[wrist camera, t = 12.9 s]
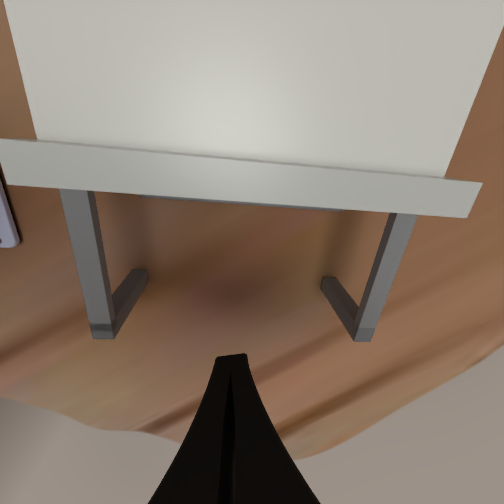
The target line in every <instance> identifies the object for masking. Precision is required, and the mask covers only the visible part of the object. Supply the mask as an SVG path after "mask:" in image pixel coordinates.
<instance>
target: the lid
mask: <svg viewBox="0 0 504 504" xmlns="http://www.w3.org/2000/svg"><path fill="white" fill-rule="evenodd" d="M4 4H5V8H6V13H7V17H8V21H9V25H10V29H11V33H12V37H13V41H14V45H15V50H16V54H17V58H18V62H19V66H20V70H21V74H22V78H23V83H24V87H25V91H26V95H27V99H28V103H29V107H30V111H31V116H32V120H33V124H34V128H35V132H36V136H37V139H8V138H0V163H1V166H2V169H3V173H4V176H5V179H6V182H7V185H20V186H34V187H47V188H61V189H75V190H89V191H102V192H116V193H130V194H143V195H157V196H171V197H184V198H198V199H212V200H226V201H239V202H253V203H267V204H280V205H294V206H308V207H321V208H335V209H349V210H363V211H376V212H390V213H404V214H417V215H431V216H445V217H459V218H467V216H468V214H469V212H470V210H471V208H472V205H473V203H474V201H475V199H476V197H477V195H478V192H479V190H480V188H481V186H482V184H483V183H480V182H473V181H466V180H460V179H453V178H446V177H444V175H445V173H446V170H447V168H448V165H449V163H450V160H451V158H452V155H453V152H454V150H455V147H456V145H457V142H458V140H459V137H460V135H461V132H462V130H463V127H464V125H465V122H466V119H467V117H468V114H469V112H470V109H471V107H472V104H473V102H474V99H475V97H476V94H477V92H478V89H479V86H480V84H481V81H482V79H483V76H484V74H485V71H486V69H487V66H488V64H489V61H490V58H491V56H492V53H493V51H494V48H495V46H496V43H497V41H498V38H499V36H500V33H501V31H502V28H503V25H504V0H4Z"/></svg>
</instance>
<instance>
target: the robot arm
mask: <svg viewBox="0 0 504 504" xmlns="http://www.w3.org/2000/svg"><path fill="white" fill-rule="evenodd" d="M0 239H1V240H2V241H0V247H1V248H12V247H14V246H16V245H18V244H19V242H20V241H19V236H18V233H17V230H16V227H15V224H14V221H13V218H12V214H11V211H10V208H9V205H8V202H7V199H6V196H5V192H4V189H3V186H2V183H1V180H0ZM148 504H320V502H319V501H318V499H317V498H316V496H315V495H314V493H313V492H312V490H311V489H310V487H309V486H308V484H307V483H306V481H305V479H304V478H303V476H302V475H301V473H300V471H299V470H298V469H297V467H296V465H295V463H294V462H293V460H292V459H291V457H290V455H289V453H288V452H287V450H286V448H285V446H284V445H283V443H282V441H281V439H280V437H279V436H278V434H277V432H276V430H275V428H274V426H273V424H272V422H271V420H270V418H269V416H268V414H267V412H266V410H265V408H264V405H263V403H262V401H261V398H260V396H259V394H258V391H257V389H256V386H255V383H254V381H253V378H252V375H251V371H250V368H249V364H248V358H247V354H245V353H242V354H235V355H227V356H220V357H217V358H216V359H215V364H214V367H213V371H212V374H211V377H210V380H209V383H208V386H207V388H206V391H205V394H204V396H203V399H202V401H201V404H200V406H199V409H198V411H197V413H196V415H195V418H194V420H193V422H192V424H191V426H190V429H189V431H188V433H187V435H186V437H185V439H184V441H183V443H182V445H181V447H180V449H179V451H178V453H177V455H176V456H175V458H174V460H173V462H172V464H171V465H170V467H169V469H168V471H167V472H166V474H165V476H164V478H163V479H162V481H161V483H160V485H159V486H158V488H157V490H156V491H155V493H154V495H153V496H152V498H151V500H150V501H149V502H148Z"/></svg>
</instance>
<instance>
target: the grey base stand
mask: <svg viewBox="0 0 504 504" xmlns="http://www.w3.org/2000/svg"><path fill="white" fill-rule="evenodd" d="M59 191H60V196H61V200H62V205H63V209H64V213H65V218H66V222H67V227H68V231H69V235H70V240H71V244H72V249H73V253H74V257H75V262H76V266H77V271H78V275H79V280H80V284H81V288H82V293H83V297H84V302H85V306H86V310H87V315H88V319H89V324H90V328H91V332H92V337H93V339H114V338H115V336H116V335H117V333H118V332H119V330H120V328H121V327H122V325H123V323H124V322H125V320H126V318H127V317H128V315H129V313H130V312H131V310H132V308H133V307H134V305H135V303H136V302H137V300H138V298H139V297H140V295H141V293H142V292H143V290H144V288H145V287H146V285H147V283H148V276H147V270H131V272H130V273H129V274H128V275H127V277H126V278H125V279H124V281H123V282H122V283H121V284H120V286H119V287H118V288H117V289H116V291H115V292H114V293H113V294H111V288H110V283H109V277H108V271H107V265H106V259H105V253H104V247H103V241H102V236H101V230H100V224H99V218H98V212H97V206H96V200H95V194H94V191H89V190H75V189H61V188H59ZM139 197H148V198H162V199H176V200H190V201H204V202H218V203H232V204H246V205H260V206H274V207H287V208H301V209H315V210H329V211H343V209H335V208H321V207H308V206H294V205H280V204H267V203H253V202H239V201H226V200H212V199H198V198H184V197H171V196H157V195H143V194H139ZM417 216H418V215H417V214H404V213H390V214H389V217H388V220H387V223H386V226H385V229H384V233H383V236H382V239H381V242H380V245H379V248H378V251H377V254H376V257H375V260H374V263H373V266H372V269H371V272H370V275H369V279H368V282H367V285H366V288H365V291H364V294H363V297H362V300H361V303H360V306H359V307H358V305H357V304H356V303H355V302H354V300H353V299H352V298H351V296H350V295H349V294H348V293H347V291H346V290H345V289H344V288H343V286H342V285H341V284H340V283H339V281H338V280H337V279H336V278H330V277H323V280H322V285H321V290H322V291H323V293H324V295H325V296H326V298H327V299H328V301H329V303H330V304H331V306H332V307H333V309H334V311H335V312H336V314H337V315H338V317H339V318H340V320H341V322H342V323H343V325H344V326H345V328H346V330H347V331H348V333H349V334H350V336H351V338H352V339H353V341H354V342H370V341H371V339H372V336H373V333H374V331H375V328H376V325H377V323H378V320H379V317H380V315H381V312H382V309H383V307H384V304H385V301H386V299H387V296H388V293H389V291H390V288H391V285H392V283H393V280H394V277H395V275H396V272H397V269H398V267H399V264H400V261H401V259H402V256H403V253H404V251H405V248H406V245H407V243H408V240H409V237H410V235H411V232H412V229H413V227H414V224H415V221H416V219H417Z"/></svg>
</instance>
